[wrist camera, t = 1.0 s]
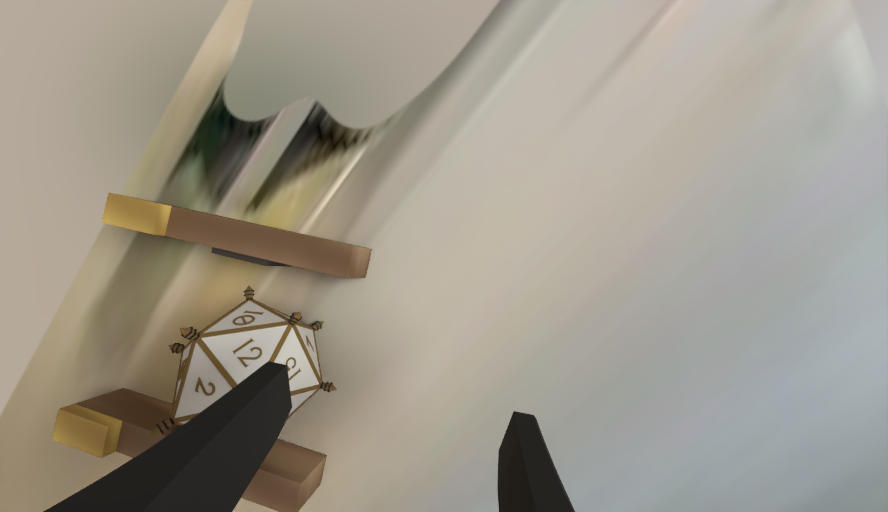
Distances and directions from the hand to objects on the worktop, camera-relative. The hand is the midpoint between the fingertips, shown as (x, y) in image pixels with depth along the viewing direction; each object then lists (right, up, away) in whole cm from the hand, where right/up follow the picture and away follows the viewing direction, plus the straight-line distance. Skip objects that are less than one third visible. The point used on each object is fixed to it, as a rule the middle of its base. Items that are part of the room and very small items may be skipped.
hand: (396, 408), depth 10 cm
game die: (-9, -2, +13) cm, 16 cm away
